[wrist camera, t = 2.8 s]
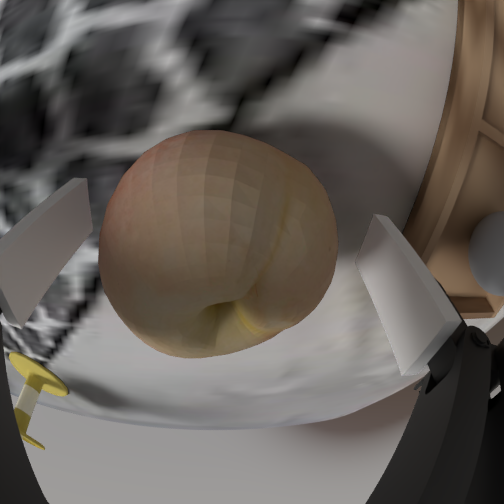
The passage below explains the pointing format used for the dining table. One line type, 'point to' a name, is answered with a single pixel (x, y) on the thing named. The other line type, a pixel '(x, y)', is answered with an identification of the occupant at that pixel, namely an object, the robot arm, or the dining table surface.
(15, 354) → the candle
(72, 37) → the dining table surface
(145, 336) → the fruit
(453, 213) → the divided wooden tray
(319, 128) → the dining table surface
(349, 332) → the dining table surface
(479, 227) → the grey ball
